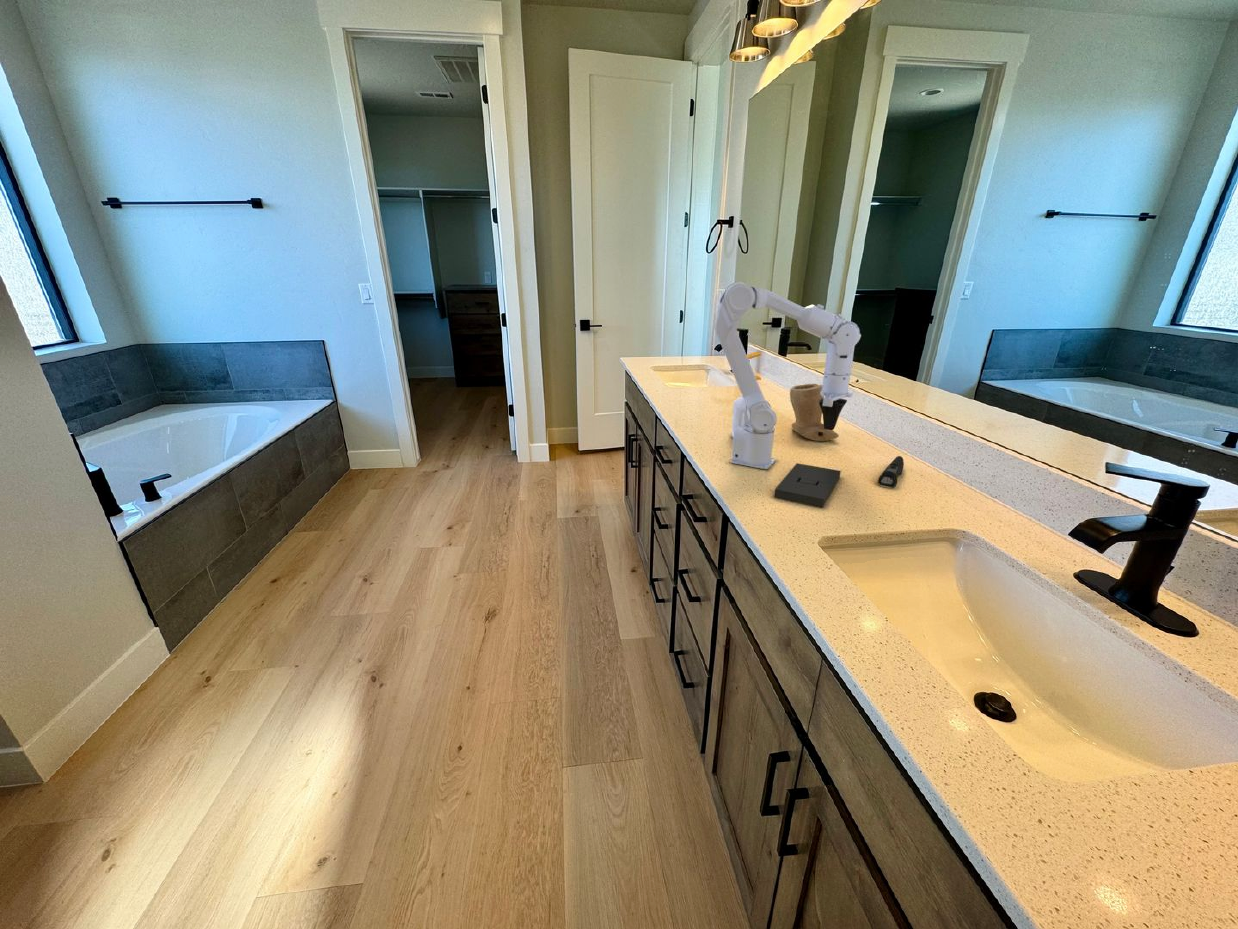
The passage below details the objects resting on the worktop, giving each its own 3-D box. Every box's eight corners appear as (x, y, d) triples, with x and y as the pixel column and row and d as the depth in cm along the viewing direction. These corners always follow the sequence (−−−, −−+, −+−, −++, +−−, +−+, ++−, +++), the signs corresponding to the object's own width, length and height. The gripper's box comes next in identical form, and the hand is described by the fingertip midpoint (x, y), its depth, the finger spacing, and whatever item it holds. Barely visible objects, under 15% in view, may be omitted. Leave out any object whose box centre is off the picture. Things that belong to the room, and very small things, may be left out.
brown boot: (780, 427, 153) (786, 379, 148) (819, 427, 153) (825, 379, 147) (796, 443, 139) (802, 391, 133) (838, 443, 139) (846, 390, 133)
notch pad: (774, 497, 106) (775, 489, 105) (785, 483, 113) (786, 475, 112) (822, 508, 101) (824, 499, 100) (831, 492, 108) (832, 484, 107)
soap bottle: (766, 441, 141) (775, 354, 132) (734, 442, 141) (741, 355, 132) (758, 432, 149) (766, 350, 140) (728, 432, 149) (734, 350, 140)
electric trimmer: (906, 468, 120) (909, 456, 119) (894, 489, 109) (897, 475, 108) (889, 465, 123) (892, 453, 122) (876, 485, 111) (878, 472, 110)
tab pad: (783, 486, 111) (783, 478, 110) (795, 470, 120) (796, 463, 119) (829, 496, 106) (831, 487, 105) (839, 478, 115) (840, 470, 114)
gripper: (850, 380, 107) (841, 439, 112) (860, 369, 119) (851, 423, 123) (816, 377, 111) (809, 434, 116) (829, 367, 122) (822, 419, 127)
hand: (829, 428), depth 120 cm, fingers closed
